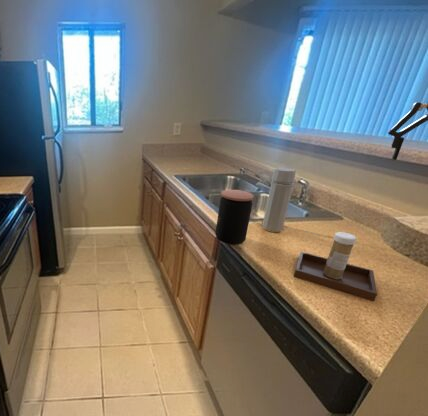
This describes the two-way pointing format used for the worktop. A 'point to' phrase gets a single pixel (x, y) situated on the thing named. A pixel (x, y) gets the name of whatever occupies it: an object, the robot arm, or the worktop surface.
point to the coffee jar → (233, 216)
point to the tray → (350, 283)
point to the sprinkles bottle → (339, 255)
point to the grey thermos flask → (278, 199)
